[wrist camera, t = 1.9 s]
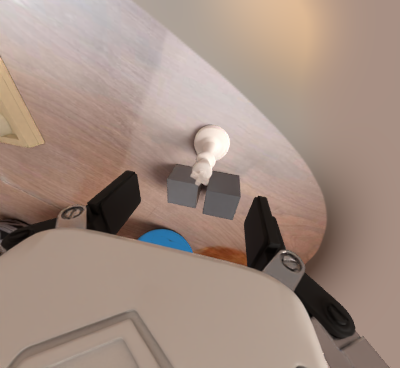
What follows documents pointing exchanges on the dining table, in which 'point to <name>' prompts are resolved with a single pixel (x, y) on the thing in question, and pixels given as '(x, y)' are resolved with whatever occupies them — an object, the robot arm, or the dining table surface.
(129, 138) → the dining table surface
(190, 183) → the slate blocks
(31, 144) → the pawn tray
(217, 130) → the chess piece
